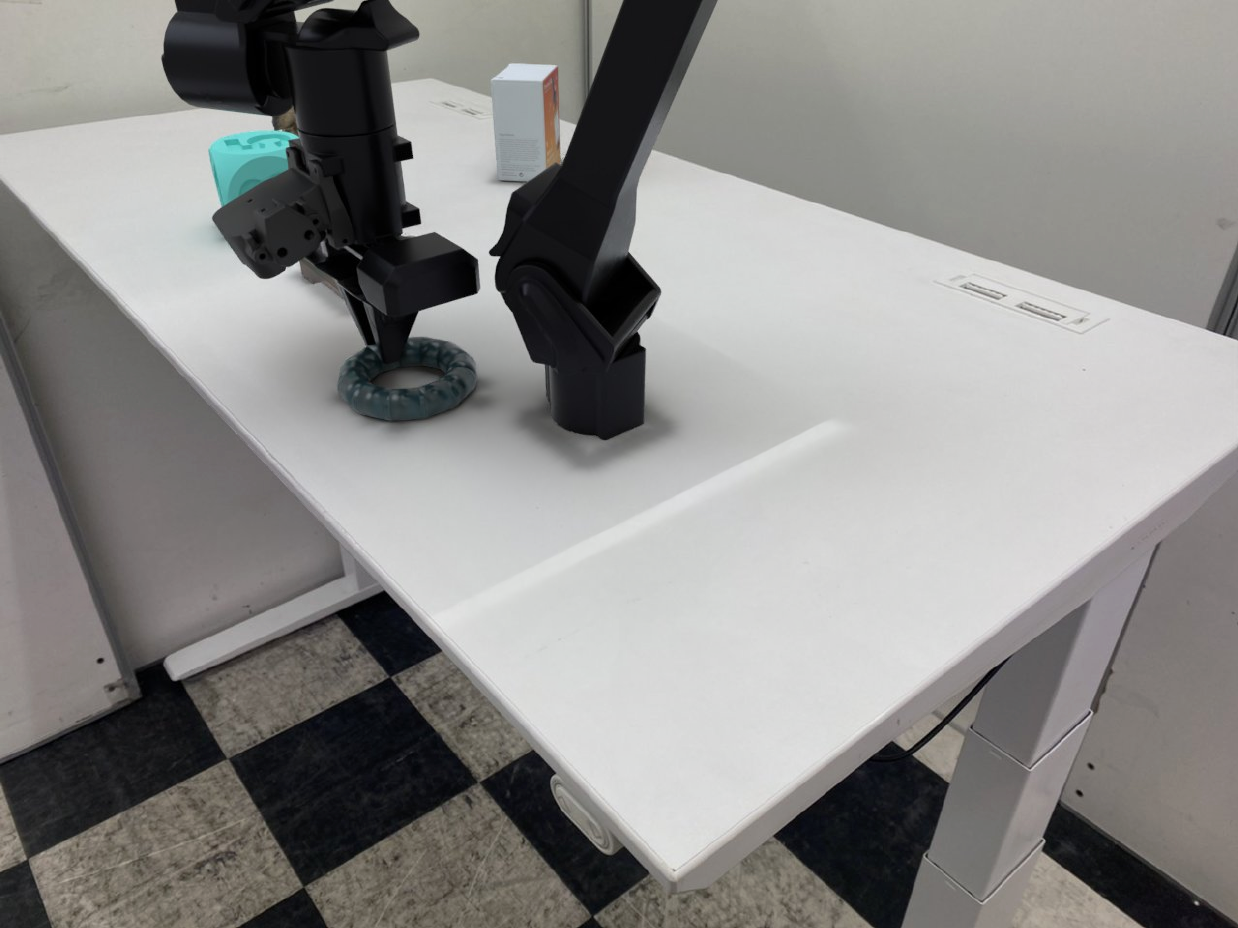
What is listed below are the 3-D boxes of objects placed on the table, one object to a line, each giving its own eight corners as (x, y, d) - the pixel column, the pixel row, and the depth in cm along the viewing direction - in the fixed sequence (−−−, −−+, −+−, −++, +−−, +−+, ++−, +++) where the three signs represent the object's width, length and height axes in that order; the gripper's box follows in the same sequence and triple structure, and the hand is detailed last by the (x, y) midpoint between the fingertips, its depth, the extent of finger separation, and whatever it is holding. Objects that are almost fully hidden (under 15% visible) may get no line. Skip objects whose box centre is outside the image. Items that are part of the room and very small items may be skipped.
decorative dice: (224, 220, 90) (203, 136, 86) (307, 207, 93) (291, 126, 89) (237, 248, 85) (215, 160, 80) (325, 233, 88) (309, 148, 83)
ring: (502, 396, 62) (500, 369, 61) (379, 442, 57) (374, 414, 56) (435, 345, 67) (432, 320, 66) (318, 383, 63) (313, 357, 62)
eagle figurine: (243, 135, 110) (259, 140, 103) (264, 77, 109) (281, 77, 102) (305, 163, 114) (325, 169, 107) (325, 108, 114) (346, 110, 106)
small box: (546, 184, 100) (542, 81, 94) (496, 181, 100) (489, 78, 94) (562, 162, 106) (559, 64, 100) (514, 159, 107) (509, 62, 101)
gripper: (158, 112, 57) (220, 340, 66) (275, 193, 45) (331, 457, 54) (329, 86, 63) (364, 299, 71) (473, 151, 51) (494, 397, 60)
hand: (383, 356), depth 64 cm, fingers closed on ring, 2 cm apart
